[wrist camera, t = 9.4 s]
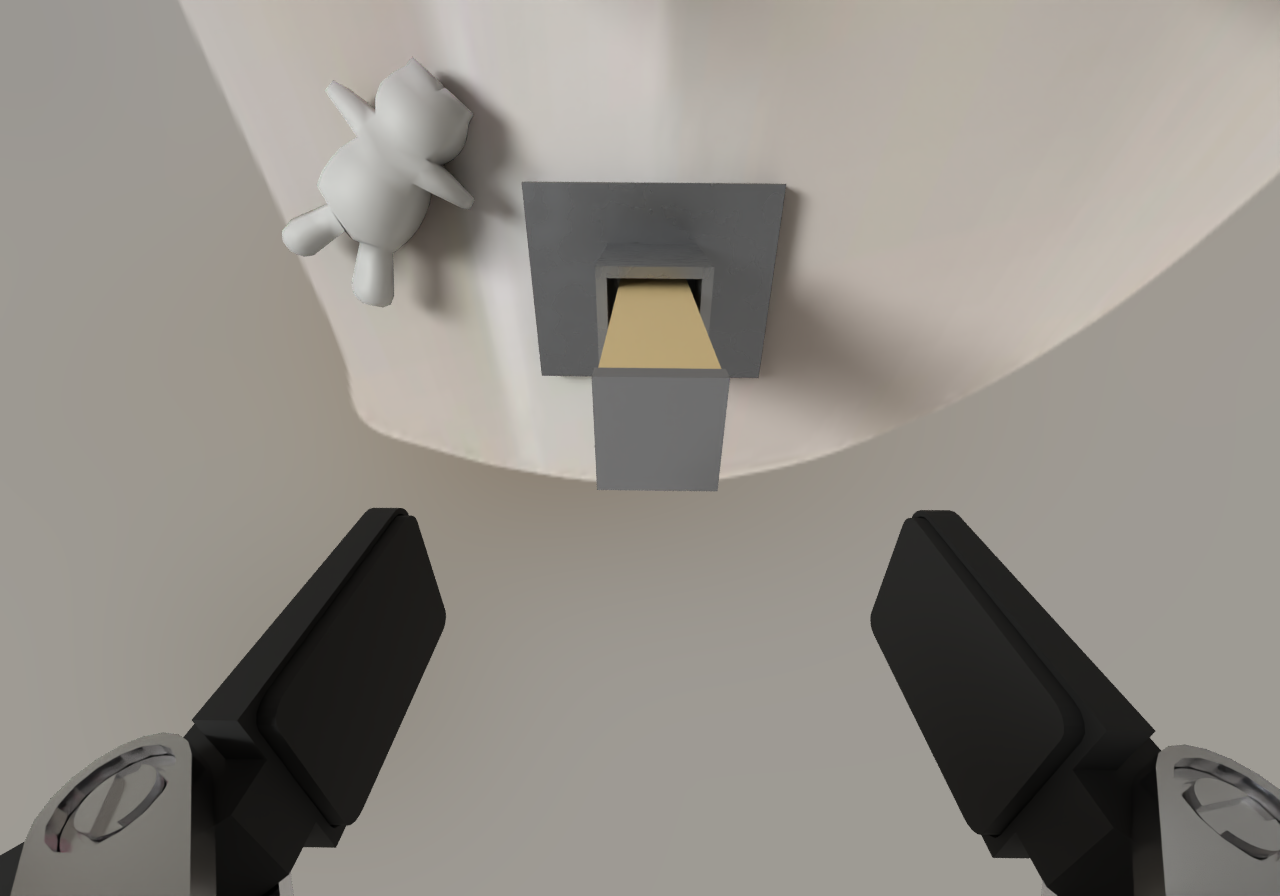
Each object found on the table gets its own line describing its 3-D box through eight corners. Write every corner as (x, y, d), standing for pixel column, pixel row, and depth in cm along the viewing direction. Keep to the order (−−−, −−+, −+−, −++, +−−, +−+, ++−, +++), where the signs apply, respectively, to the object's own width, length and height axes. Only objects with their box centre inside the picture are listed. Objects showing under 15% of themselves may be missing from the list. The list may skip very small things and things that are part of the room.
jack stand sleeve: (780, 183, 33) (844, 187, 22) (754, 370, 40) (794, 441, 29) (526, 181, 33) (469, 184, 22) (545, 368, 40) (508, 438, 30)
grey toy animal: (500, 139, 29) (376, 327, 33) (514, 152, 33) (404, 315, 37) (354, 2, 26) (238, 228, 30) (393, 37, 30) (288, 228, 34)
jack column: (687, 276, 29) (729, 378, 14) (683, 345, 31) (716, 495, 16) (619, 275, 29) (591, 377, 14) (620, 345, 31) (597, 494, 16)
